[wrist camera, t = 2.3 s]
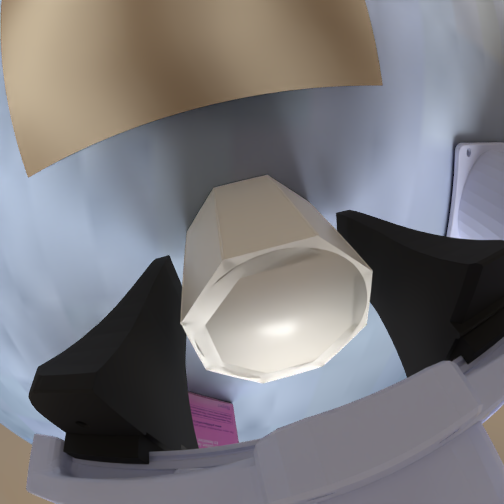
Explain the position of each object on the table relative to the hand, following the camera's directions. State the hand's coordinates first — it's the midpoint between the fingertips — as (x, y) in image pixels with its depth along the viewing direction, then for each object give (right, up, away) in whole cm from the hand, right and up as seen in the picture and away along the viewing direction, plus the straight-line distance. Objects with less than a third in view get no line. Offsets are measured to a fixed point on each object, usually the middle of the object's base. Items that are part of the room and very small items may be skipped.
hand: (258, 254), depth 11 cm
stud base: (-4, +11, -6) cm, 13 cm away
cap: (0, +1, +1) cm, 1 cm away
